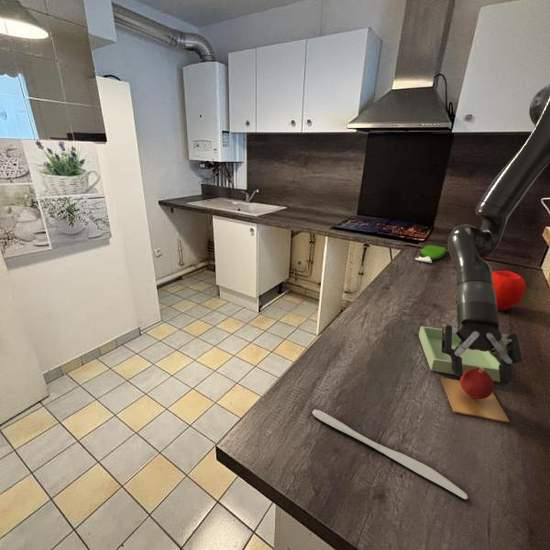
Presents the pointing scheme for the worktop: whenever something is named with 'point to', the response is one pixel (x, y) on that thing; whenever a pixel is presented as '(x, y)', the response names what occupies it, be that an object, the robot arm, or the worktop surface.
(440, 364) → the tray
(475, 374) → the red rounded piece
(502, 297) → the apple
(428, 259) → the spray bottle
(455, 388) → the cork mat
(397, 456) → the butter knife
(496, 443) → the worktop surface
